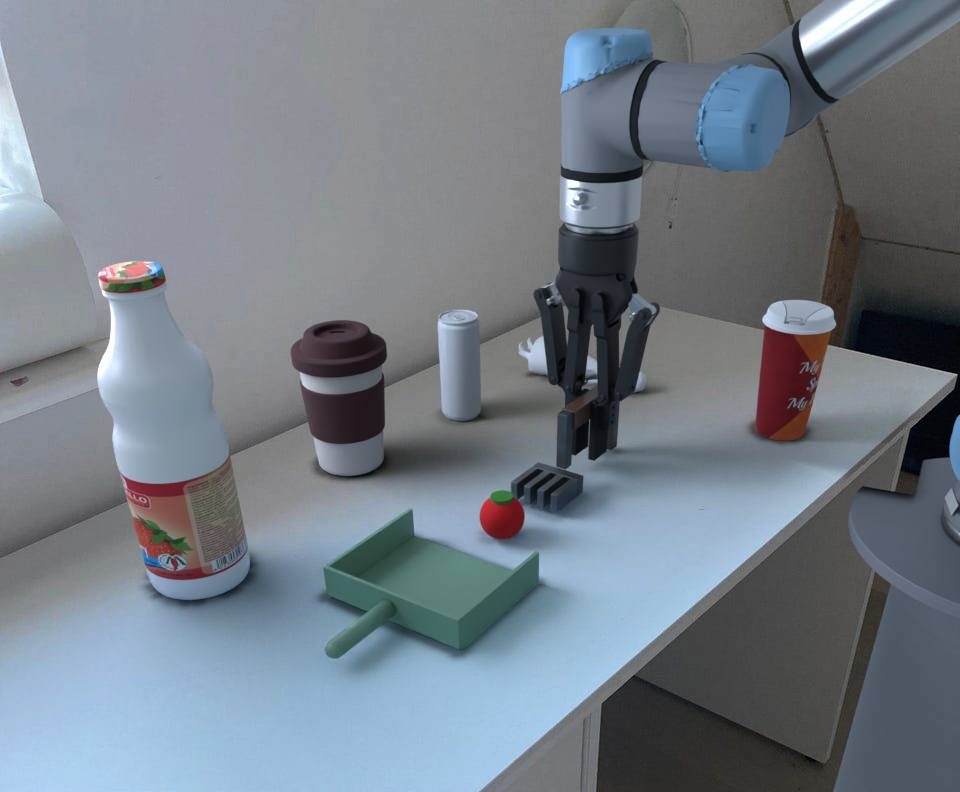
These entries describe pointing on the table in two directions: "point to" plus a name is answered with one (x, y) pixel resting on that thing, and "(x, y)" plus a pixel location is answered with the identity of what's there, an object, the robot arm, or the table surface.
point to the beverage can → (460, 364)
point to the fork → (561, 460)
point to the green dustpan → (421, 587)
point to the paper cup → (791, 366)
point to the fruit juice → (169, 441)
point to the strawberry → (502, 515)
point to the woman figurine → (540, 366)
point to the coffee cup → (343, 394)
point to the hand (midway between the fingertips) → (588, 452)
